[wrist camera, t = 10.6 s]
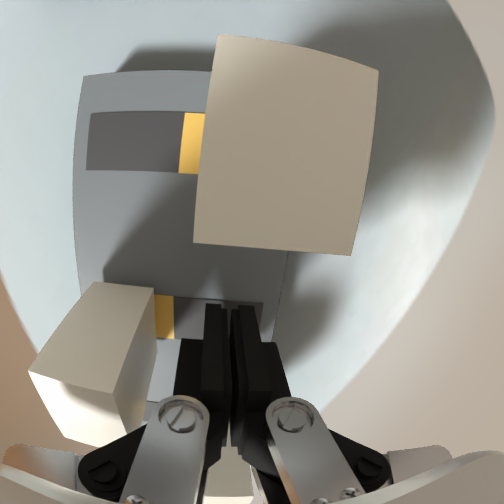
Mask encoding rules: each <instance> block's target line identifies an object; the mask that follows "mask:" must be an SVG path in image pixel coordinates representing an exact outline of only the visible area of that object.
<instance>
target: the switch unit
mask: <svg viewBox="0 0 504 504" xmlns="http://www.w3.org/2000/svg"><path fill="white" fill-rule="evenodd" d="M210 78H211V72H208V71H187V70H149V71H128V72H115V73H105V74H96V75H89V76H84V77H83V82H82V88H81V94H80V100H79V106H78V114H77V122H76V131H75V142H74V157H73V225H74V240H75V252H76V261H77V270H78V277H79V284H80V291H81V296H82V295H83V294H84V293H85V291H86V290H87V289H88V288H89V287H90V285H91V284H92V283H93V282H94V281H97V282H105V283H113V284H122V285H131V286H140V287H150V288H154V307H155V324H156V337H157V349H158V353H157V357H156V361H155V365H154V369H153V373H152V377H151V382H150V386H149V391H148V395H147V400H146V404H145V409H144V414H143V419H142V424H141V426H143V425H145V424H147V423H148V421H149V419H150V416H151V413H152V411H153V409H154V407H155V406H156V404H157V403H158V402H160V401H161V400H162V399H164V398H167V397H169V396H173V390H174V382H175V376H176V369H177V362H178V356H179V350H180V343H181V339H182V338H188V339H202V340H203V334H204V319H205V305H206V303H213V304H221V308H227V315H228V332H229V331H230V320H231V310H232V309H237V307H238V305H250V306H254V309H255V313H256V318H257V322H258V327H259V332H260V336H261V341H262V342H271V340H272V335H273V330H274V325H275V320H276V315H277V310H278V305H279V300H280V294H281V289H282V284H283V278H284V273H285V268H286V262H287V256H288V250H276V249H264V248H252V247H240V246H227V245H215V244H203V243H193V235H194V220H195V206H196V194H197V183H198V172H199V162H200V153H201V144H202V136H203V128H204V120H205V112H206V105H207V98H208V91H209V85H210Z"/></svg>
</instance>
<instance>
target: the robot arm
mask: <svg viewBox="0 0 504 504" xmlns="http://www.w3.org/2000/svg"><path fill="white" fill-rule="evenodd" d="M229 425H230V439H231V447H237V449H238V455H242V459H243V460H244V461H246V462H247V463H249V464H250V465H251V468H252V472H253V475H254V478H255V481H256V484H257V487H258V490H259V493H260V496H261V498H262V501H263V504H504V453H503V452H499V451H478V452H473V453H468V454H465V455H462V456H459V457H457V458H454V459H452V456H451V454H450V452H449V451H448V450H447V449H446V448H444V447H442V446H439V445H433V446H428V447H422V448H414V449H406V450H398V451H388V452H387V453H386V454H380V453H379V452H377V451H375V450H373V449H370V448H368V447H366V446H363V445H361V444H359V443H357V442H355V441H353V440H350V439H348V438H346V437H344V436H342V435H340V434H338V433H336V432H334V431H332V430H330V429H328V428H327V426H326V424H325V423H324V421H323V419H322V417H321V416H320V414H319V412H318V410H317V409H316V408H315V407H314V405H312V404H311V403H309V402H308V401H306V400H303V399H301V398H296V397H291V393H290V390H289V386H288V383H287V379H286V376H285V372H284V369H283V365H282V362H281V358H280V355H279V351H278V348H277V345H276V343H275V342H262V341H261V336H260V332H259V327H258V322H257V318H256V313H255V309H254V306H250V305H238V307H237V309H232V310H231V320H230V331H229V332H228V315H227V308H221V304H213V303H206V305H205V319H204V334H203V340H202V339H188V338H182V339H181V343H180V350H179V356H178V362H177V369H176V376H175V382H174V390H173V396H169V397H167V398H164V399H162V400H161V401H160V402H158V403H157V404H156V406H155V407H154V409H153V411H152V413H151V416H150V419H149V421H148V423H147V424H145V425H143V426H141V427H140V428H138V429H136V430H134V431H132V432H130V433H128V434H126V435H125V436H123V437H121V438H119V439H117V440H115V441H113V442H111V443H109V444H107V445H105V446H103V447H101V448H99V449H96V450H94V451H92V452H90V453H88V454H87V455H85V456H80V455H76V453H75V452H67V451H59V450H51V449H45V448H39V447H33V446H28V445H23V444H14V445H12V446H10V447H9V448H8V449H7V450H6V451H5V454H4V456H3V463H0V504H204V497H205V491H206V485H207V479H208V473H209V468H210V467H211V466H212V465H213V464H215V463H216V462H217V461H219V460H220V459H221V449H222V447H226V444H227V435H228V426H229Z"/></svg>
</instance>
